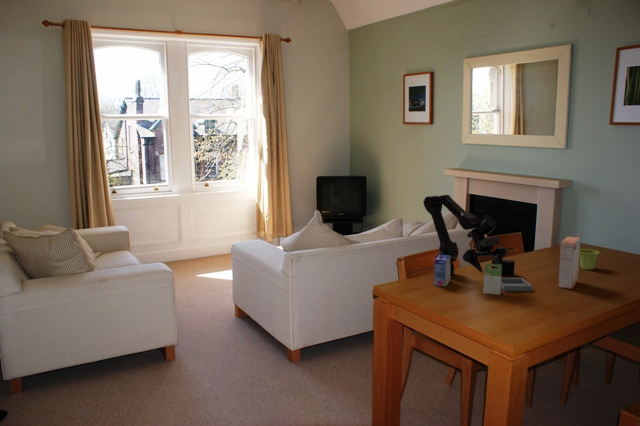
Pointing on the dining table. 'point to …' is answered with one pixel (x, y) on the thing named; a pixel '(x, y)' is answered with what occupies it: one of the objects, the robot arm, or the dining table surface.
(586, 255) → the plant pot
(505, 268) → the digital camera
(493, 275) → the ink box
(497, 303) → the dining table surface
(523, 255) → the dining table surface
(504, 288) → the tray
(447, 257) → the ink cartridge box
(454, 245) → the robot arm
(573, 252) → the cracker box
